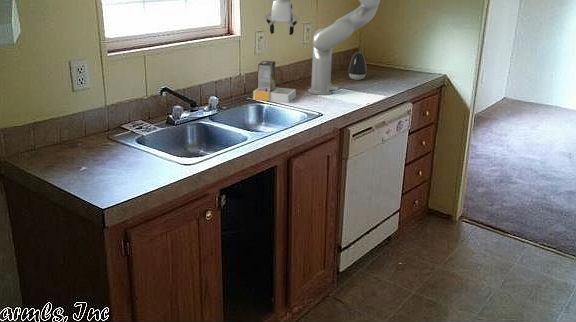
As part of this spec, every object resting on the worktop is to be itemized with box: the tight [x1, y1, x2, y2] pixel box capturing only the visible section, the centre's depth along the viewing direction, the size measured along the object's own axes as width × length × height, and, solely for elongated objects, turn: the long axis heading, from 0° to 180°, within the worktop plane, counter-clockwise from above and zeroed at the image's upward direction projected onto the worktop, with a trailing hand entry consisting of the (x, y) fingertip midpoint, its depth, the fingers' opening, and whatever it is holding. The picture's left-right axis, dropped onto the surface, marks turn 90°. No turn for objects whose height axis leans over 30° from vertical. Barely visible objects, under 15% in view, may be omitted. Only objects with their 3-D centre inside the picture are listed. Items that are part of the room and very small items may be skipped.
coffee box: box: [257, 60, 276, 93], centre depth 259 cm, size 9×6×16 cm
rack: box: [252, 86, 297, 104], centre depth 259 cm, size 18×13×4 cm
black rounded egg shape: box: [347, 51, 367, 81], centre depth 303 cm, size 10×10×15 cm
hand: (281, 34), depth 265 cm, fingers open, 9 cm apart
